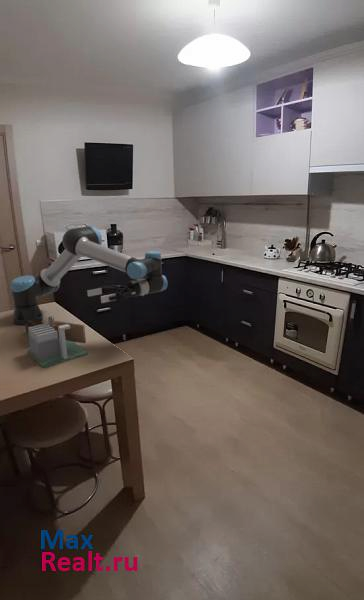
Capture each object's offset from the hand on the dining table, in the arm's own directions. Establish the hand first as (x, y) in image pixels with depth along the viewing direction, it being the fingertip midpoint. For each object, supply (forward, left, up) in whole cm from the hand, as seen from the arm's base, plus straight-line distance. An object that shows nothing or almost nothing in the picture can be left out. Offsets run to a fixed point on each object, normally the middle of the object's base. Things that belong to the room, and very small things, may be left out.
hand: (94, 296), depth 152 cm
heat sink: (-5, -17, -23) cm, 29 cm away
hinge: (-6, -11, -21) cm, 25 cm away
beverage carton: (-28, -18, -23) cm, 41 cm away
